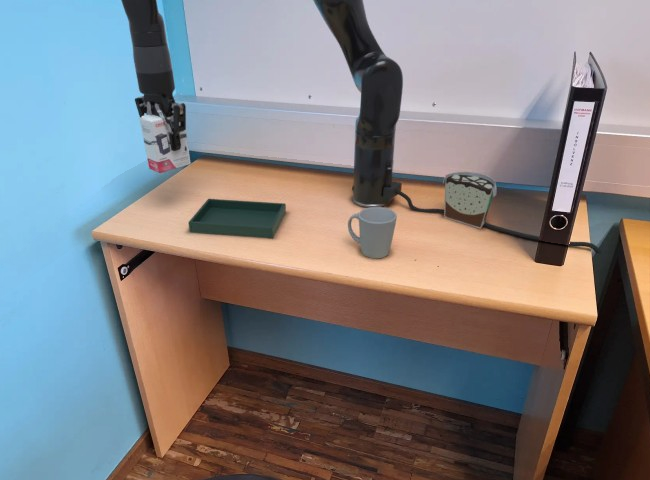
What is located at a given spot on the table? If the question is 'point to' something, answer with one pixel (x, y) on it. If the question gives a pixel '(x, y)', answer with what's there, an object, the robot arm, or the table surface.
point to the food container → (468, 197)
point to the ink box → (162, 145)
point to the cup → (374, 231)
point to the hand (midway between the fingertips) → (166, 147)
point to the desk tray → (238, 218)
